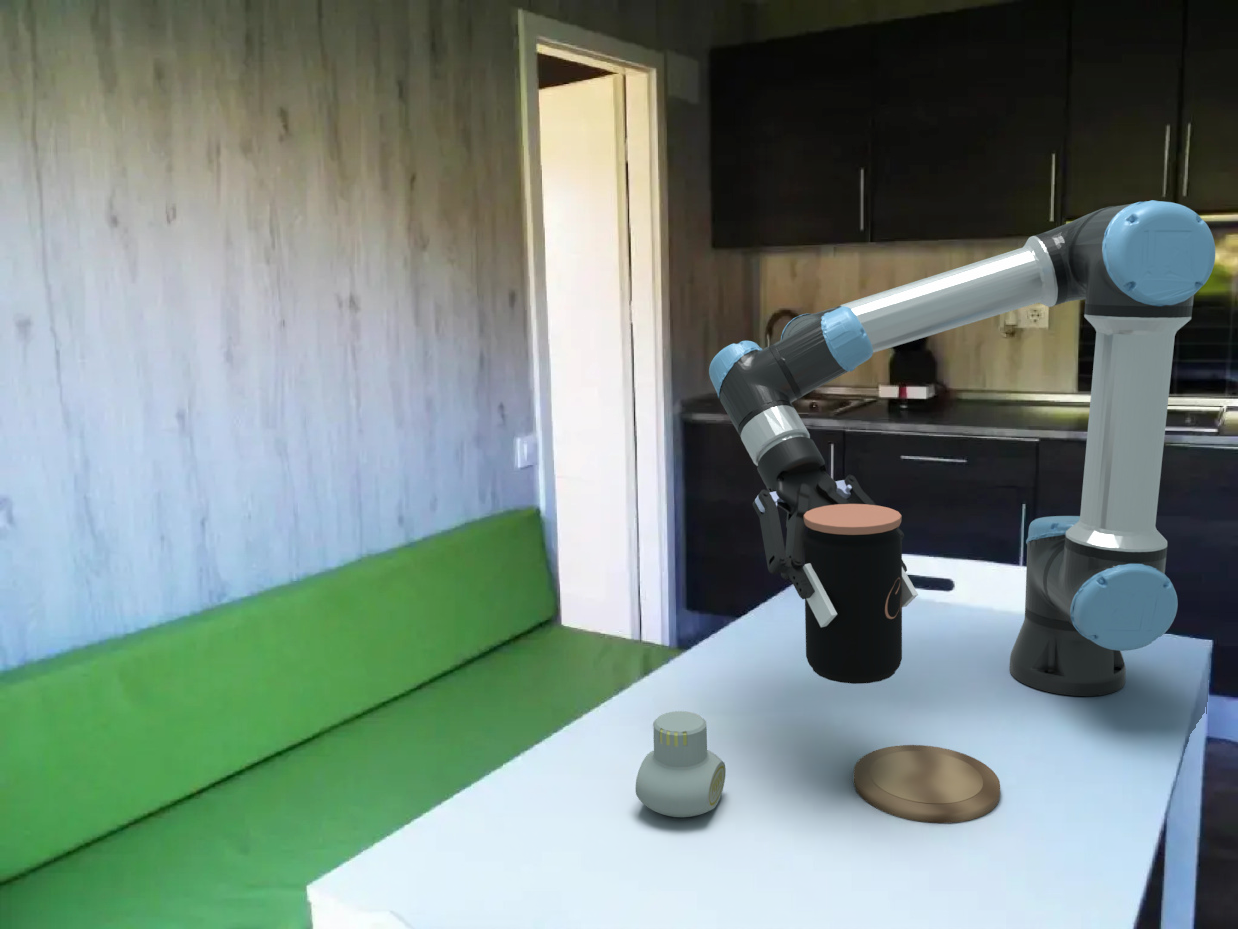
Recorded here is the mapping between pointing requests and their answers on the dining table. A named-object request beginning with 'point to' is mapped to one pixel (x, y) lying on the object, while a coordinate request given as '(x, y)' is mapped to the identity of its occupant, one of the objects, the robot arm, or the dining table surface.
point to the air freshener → (680, 768)
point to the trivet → (926, 783)
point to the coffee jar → (855, 592)
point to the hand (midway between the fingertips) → (870, 610)
